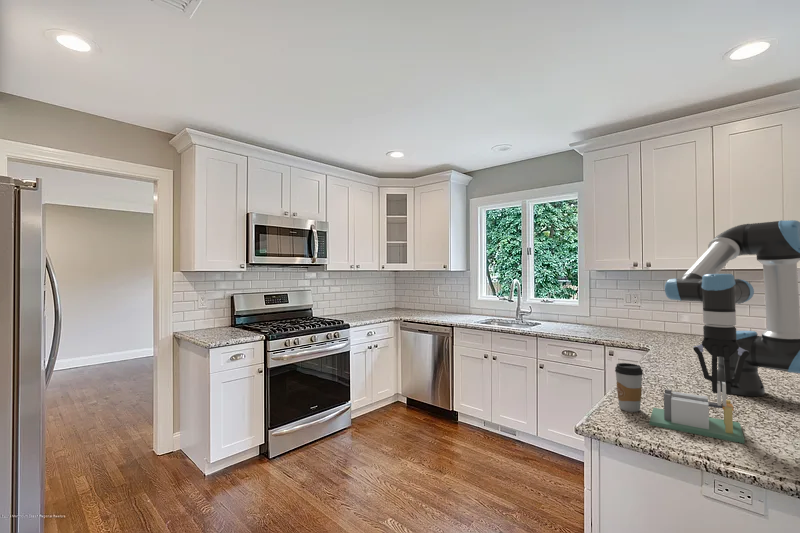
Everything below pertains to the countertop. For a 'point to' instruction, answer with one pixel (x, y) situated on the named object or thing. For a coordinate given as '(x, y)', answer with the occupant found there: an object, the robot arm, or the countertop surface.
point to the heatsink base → (710, 433)
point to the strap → (719, 406)
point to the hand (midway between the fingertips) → (721, 404)
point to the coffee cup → (629, 386)
